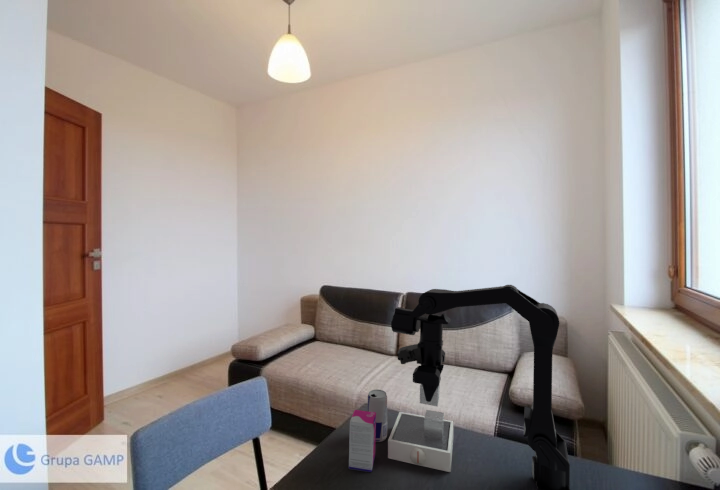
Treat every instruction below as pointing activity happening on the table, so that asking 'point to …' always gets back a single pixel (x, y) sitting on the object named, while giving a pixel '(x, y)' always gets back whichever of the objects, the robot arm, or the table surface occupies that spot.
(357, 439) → the supplement box
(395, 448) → the base
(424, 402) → the block
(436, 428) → the block
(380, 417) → the energy drink
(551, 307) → the robot arm
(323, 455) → the table surface
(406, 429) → the pan
